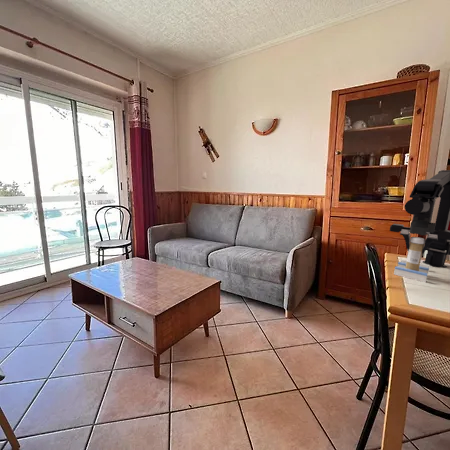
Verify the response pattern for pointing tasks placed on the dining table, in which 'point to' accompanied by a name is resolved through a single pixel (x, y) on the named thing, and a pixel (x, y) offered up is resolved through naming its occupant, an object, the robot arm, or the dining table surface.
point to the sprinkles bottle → (415, 253)
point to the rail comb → (412, 271)
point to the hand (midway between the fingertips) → (415, 252)
